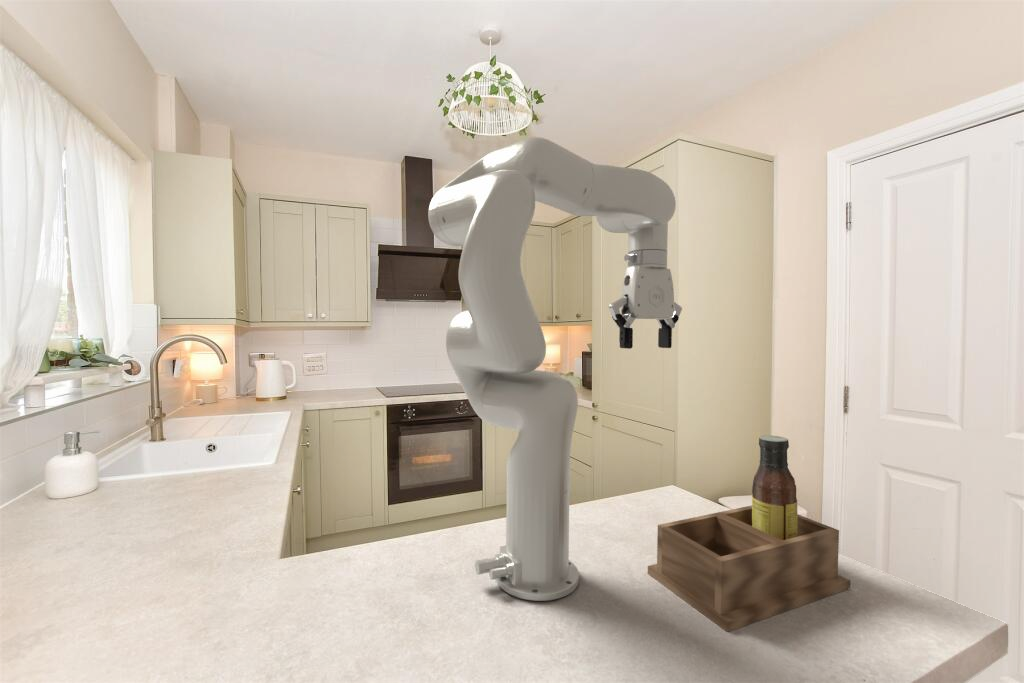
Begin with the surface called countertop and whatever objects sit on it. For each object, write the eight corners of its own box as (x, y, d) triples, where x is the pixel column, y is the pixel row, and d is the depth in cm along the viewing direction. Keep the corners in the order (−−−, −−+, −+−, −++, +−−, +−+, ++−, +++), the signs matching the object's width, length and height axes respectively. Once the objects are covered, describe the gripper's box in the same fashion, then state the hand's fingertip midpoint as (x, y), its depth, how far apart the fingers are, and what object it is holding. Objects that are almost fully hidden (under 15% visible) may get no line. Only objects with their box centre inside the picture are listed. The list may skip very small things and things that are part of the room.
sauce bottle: (786, 554, 76) (789, 433, 75) (805, 575, 69) (809, 443, 69) (743, 552, 76) (746, 432, 76) (759, 572, 70) (763, 441, 69)
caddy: (727, 631, 58) (728, 567, 58) (647, 573, 72) (648, 521, 72) (850, 588, 69) (851, 533, 68) (759, 544, 82) (760, 499, 82)
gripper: (623, 256, 85) (621, 349, 86) (694, 262, 92) (692, 348, 93) (599, 261, 92) (598, 347, 92) (667, 266, 99) (666, 346, 99)
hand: (645, 348), depth 93 cm, fingers open, 9 cm apart
